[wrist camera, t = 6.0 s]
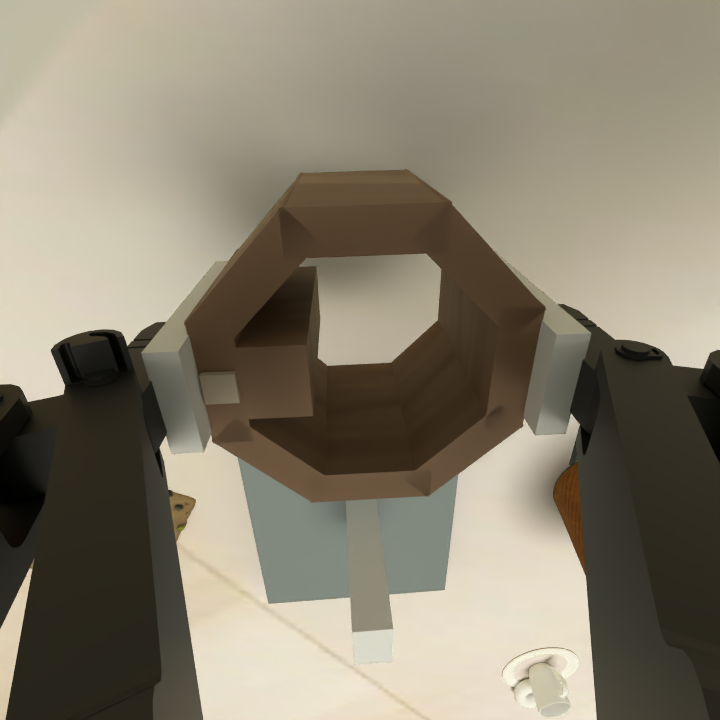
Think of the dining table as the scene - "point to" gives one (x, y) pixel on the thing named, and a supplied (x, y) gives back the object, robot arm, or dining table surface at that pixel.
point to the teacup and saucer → (543, 683)
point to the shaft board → (325, 541)
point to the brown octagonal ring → (364, 381)
